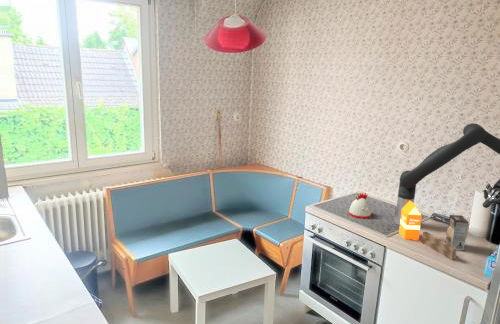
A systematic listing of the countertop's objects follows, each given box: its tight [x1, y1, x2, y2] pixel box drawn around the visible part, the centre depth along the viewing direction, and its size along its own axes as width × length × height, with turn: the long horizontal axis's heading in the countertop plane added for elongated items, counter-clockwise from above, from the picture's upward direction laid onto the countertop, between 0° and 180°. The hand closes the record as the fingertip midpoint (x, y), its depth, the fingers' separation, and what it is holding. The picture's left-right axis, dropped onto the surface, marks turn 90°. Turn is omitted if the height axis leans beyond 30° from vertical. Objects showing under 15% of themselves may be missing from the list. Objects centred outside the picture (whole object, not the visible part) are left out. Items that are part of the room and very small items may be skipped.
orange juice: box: [398, 201, 422, 241], centre depth 192 cm, size 8×9×20 cm
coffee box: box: [445, 214, 469, 251], centre depth 181 cm, size 9×6×16 cm
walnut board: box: [421, 231, 457, 261], centre depth 177 cm, size 20×2×6 cm, turn 15°
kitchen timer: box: [348, 192, 372, 220], centre depth 223 cm, size 14×14×15 cm
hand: (484, 206), depth 183 cm, fingers closed
